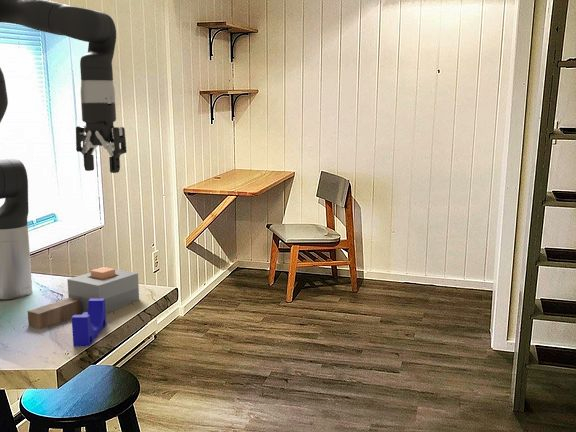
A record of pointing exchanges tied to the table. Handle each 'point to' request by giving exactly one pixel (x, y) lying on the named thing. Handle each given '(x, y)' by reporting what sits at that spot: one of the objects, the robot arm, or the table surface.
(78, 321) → the blue bent block
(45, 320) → the brown wooden plank
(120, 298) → the box
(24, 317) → the table surface
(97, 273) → the button
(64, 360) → the table surface
